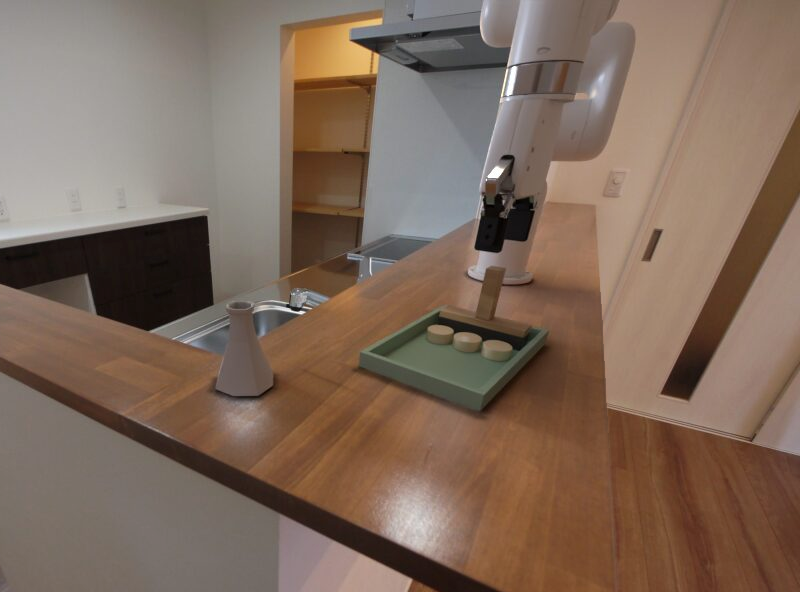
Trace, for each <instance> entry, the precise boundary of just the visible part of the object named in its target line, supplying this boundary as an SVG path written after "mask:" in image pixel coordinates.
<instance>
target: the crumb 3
mask: <svg viewBox="0 0 800 592" xmlns="http://www.w3.org/2000/svg"><path fill="white" fill-rule="evenodd" d="M511 352H512V346H511V345H510V344H508V343H506V342H503V341H498V340H487V341H485V342H484V343H483V345H482V350H481V355H482V356H483V357H485V358H487V359H490V360H494V361H506V360H509V358H510V356H511Z"/></svg>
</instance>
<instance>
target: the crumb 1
mask: <svg viewBox="0 0 800 592" xmlns="http://www.w3.org/2000/svg"><path fill="white" fill-rule="evenodd" d="M453 333H454V330H453V329H452V328H450V327H447V326H443V325H432V326H429V327H428V329H427V334H426V339H427V340H428V341H430V342H432V343H436V344H448V343H451V342H452V338H453Z"/></svg>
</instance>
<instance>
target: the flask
mask: <svg viewBox="0 0 800 592" xmlns="http://www.w3.org/2000/svg"><path fill="white" fill-rule="evenodd" d="M254 310H255V302H252V301H250V300H233V301H230V302H228V303H226V306H225V311H226V313H228V318H229V320H228V321H229V328H228V336H227V337H228V338H227V343H226V347H225V351H224V354H223V356H222V357H223V358H222V360H221V365H220V368H219V370H218V371H219V372H218V376H217V380H216V384H215V387H214V388H215V390H217V391H219V392H222V393H224V394H227V395H230V396H232V397H258V396H261V395H262V394H263V393H265V392H266V391H267V390H268V389H270V388H272V387H274V373H273V370H272V368H271V366H270V363H269V361H268V359H267V357H266V355H265V353H264V349H263V348H262V345H261V343H260V341H259V338H258V335H257V333H256V329H255V328H256V327H255V325H254V319H253V312H254Z"/></svg>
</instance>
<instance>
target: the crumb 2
mask: <svg viewBox="0 0 800 592" xmlns="http://www.w3.org/2000/svg"><path fill="white" fill-rule="evenodd" d="M481 342H482V338H481V337H480V336H478V335H476V334H473V333H468V332H460V333H456V334H455V335H454V339H453V344H452V346H453V347H454V348H455V349H457V350H459V351H463V352H477V351H479V349H480V346H481Z"/></svg>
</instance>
